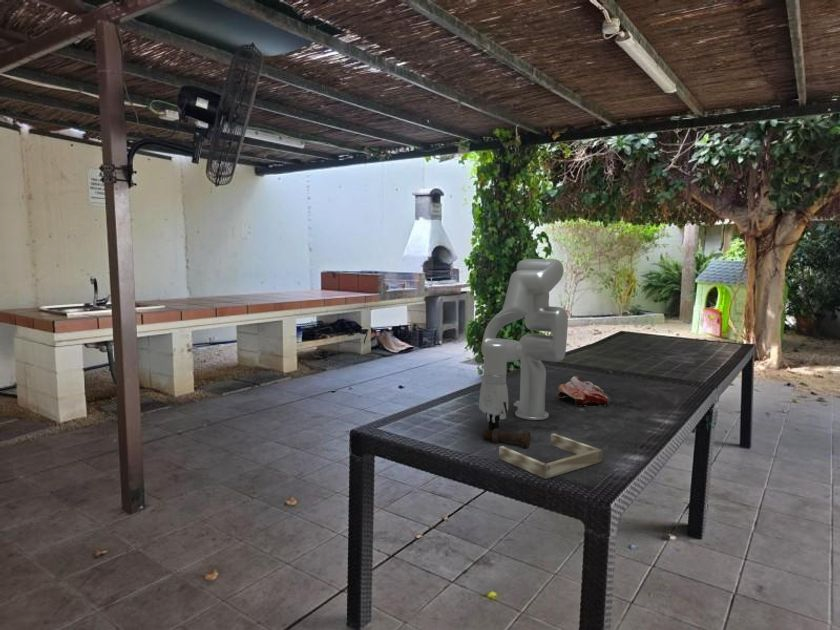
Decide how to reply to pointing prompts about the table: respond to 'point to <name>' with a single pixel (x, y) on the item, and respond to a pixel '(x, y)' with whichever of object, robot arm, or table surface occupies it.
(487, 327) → the robot arm
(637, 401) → the table surface
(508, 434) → the bolt
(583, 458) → the bay
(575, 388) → the meat
